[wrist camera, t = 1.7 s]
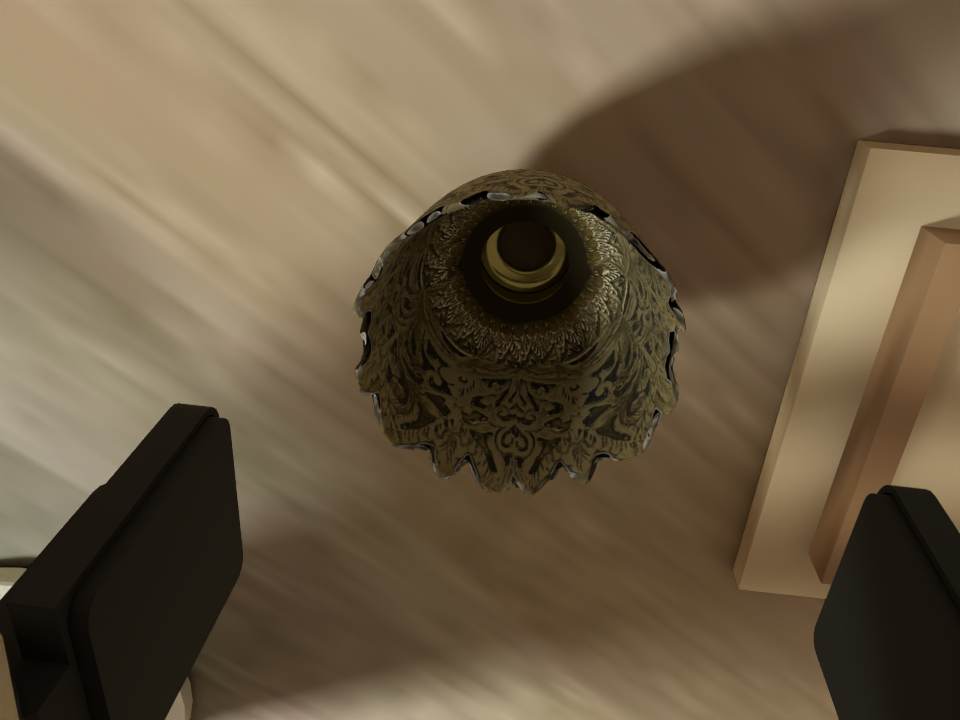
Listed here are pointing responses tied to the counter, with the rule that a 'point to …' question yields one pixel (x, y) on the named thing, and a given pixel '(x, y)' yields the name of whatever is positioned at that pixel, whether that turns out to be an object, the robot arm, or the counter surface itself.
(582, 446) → the ornate lamp shade
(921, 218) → the square wooden tray
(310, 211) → the counter surface
